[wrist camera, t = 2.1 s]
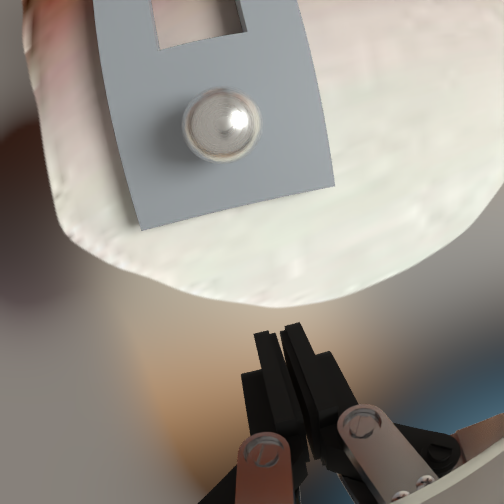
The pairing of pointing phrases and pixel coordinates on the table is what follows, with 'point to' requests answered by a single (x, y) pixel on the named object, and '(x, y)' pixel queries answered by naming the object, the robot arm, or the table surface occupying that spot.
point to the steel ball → (222, 124)
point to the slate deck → (195, 81)
